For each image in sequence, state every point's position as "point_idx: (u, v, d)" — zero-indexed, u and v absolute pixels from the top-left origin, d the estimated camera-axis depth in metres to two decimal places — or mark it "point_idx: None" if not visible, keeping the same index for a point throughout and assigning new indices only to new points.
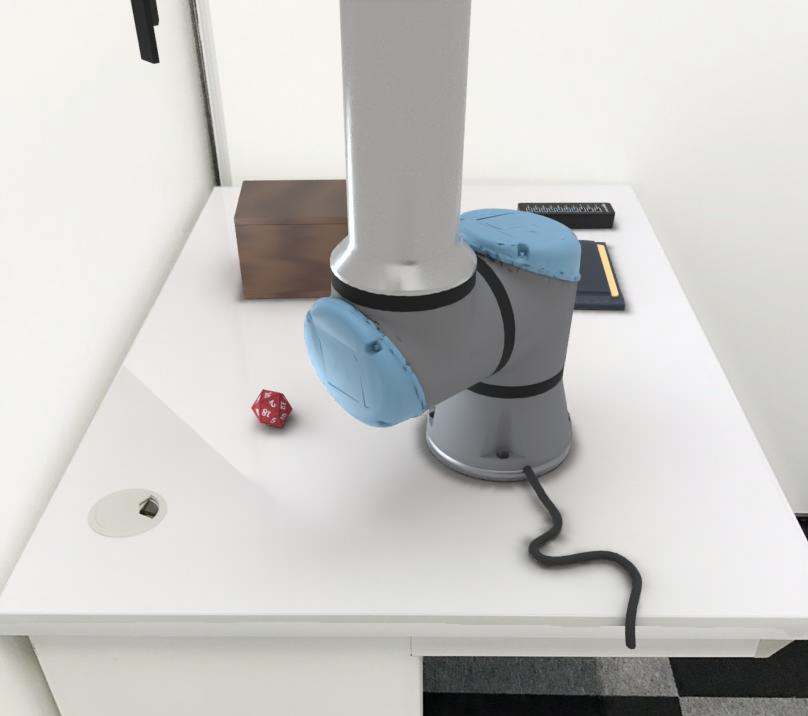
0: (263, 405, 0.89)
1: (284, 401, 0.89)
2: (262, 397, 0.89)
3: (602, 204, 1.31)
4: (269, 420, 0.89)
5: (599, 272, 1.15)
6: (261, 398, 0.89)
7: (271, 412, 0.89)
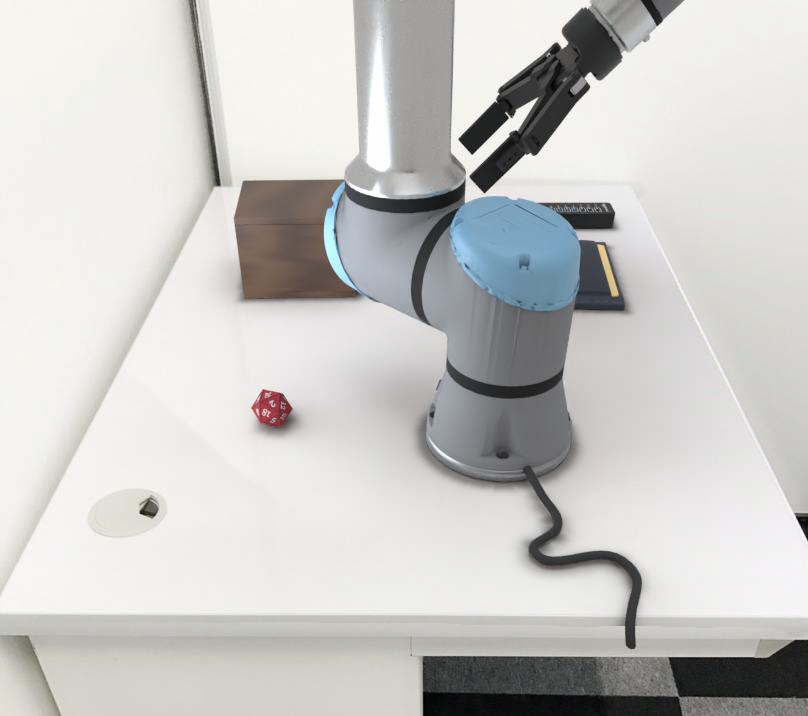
0: (263, 405, 0.89)
1: (284, 401, 0.89)
2: (262, 397, 0.89)
3: (602, 204, 1.31)
4: (269, 420, 0.89)
5: (599, 272, 1.15)
6: (261, 398, 0.89)
7: (271, 412, 0.89)
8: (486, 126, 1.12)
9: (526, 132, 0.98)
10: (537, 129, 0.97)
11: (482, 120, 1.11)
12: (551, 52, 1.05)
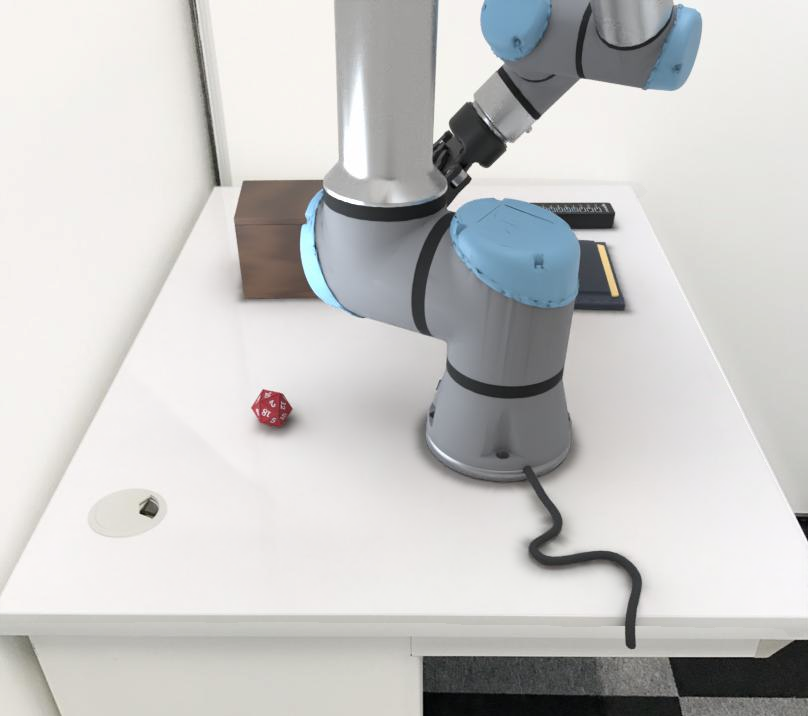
0: (263, 405, 0.89)
1: (284, 401, 0.89)
2: (262, 397, 0.89)
3: (602, 204, 1.31)
4: (269, 420, 0.89)
5: (599, 272, 1.15)
6: (261, 398, 0.89)
7: (271, 412, 0.89)
8: None
9: None
10: None
11: None
12: (444, 139, 1.12)
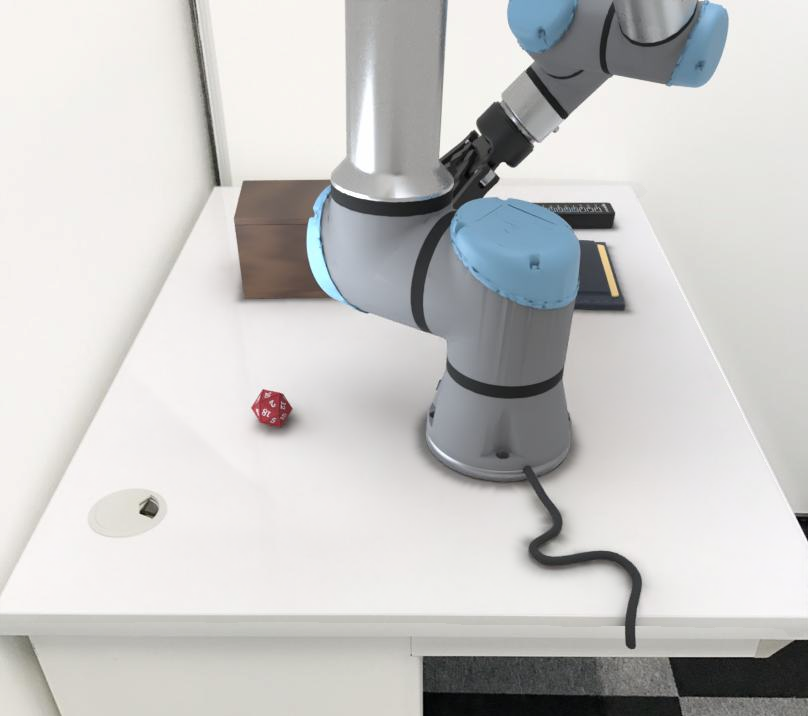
0: (263, 405, 0.89)
1: (284, 401, 0.89)
2: (262, 397, 0.89)
3: (602, 204, 1.31)
4: (269, 420, 0.89)
5: (599, 272, 1.15)
6: (261, 398, 0.89)
7: (271, 412, 0.89)
8: None
9: None
10: None
11: None
12: (470, 139, 1.12)
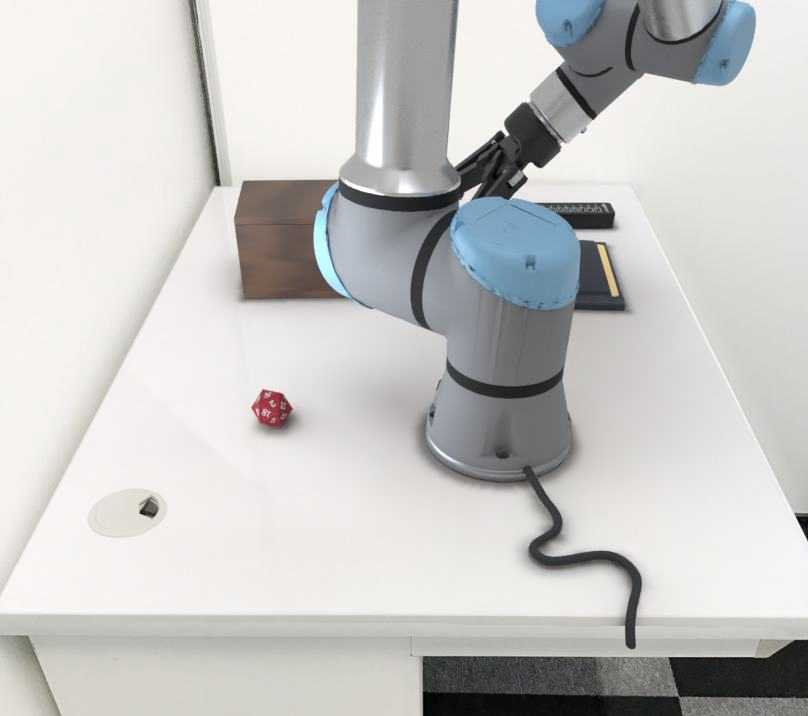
0: (263, 405, 0.89)
1: (284, 401, 0.89)
2: (263, 397, 0.89)
3: (602, 204, 1.31)
4: (269, 420, 0.89)
5: (599, 272, 1.15)
6: (261, 398, 0.89)
7: (271, 412, 0.89)
8: None
9: None
10: None
11: None
12: (496, 139, 1.12)
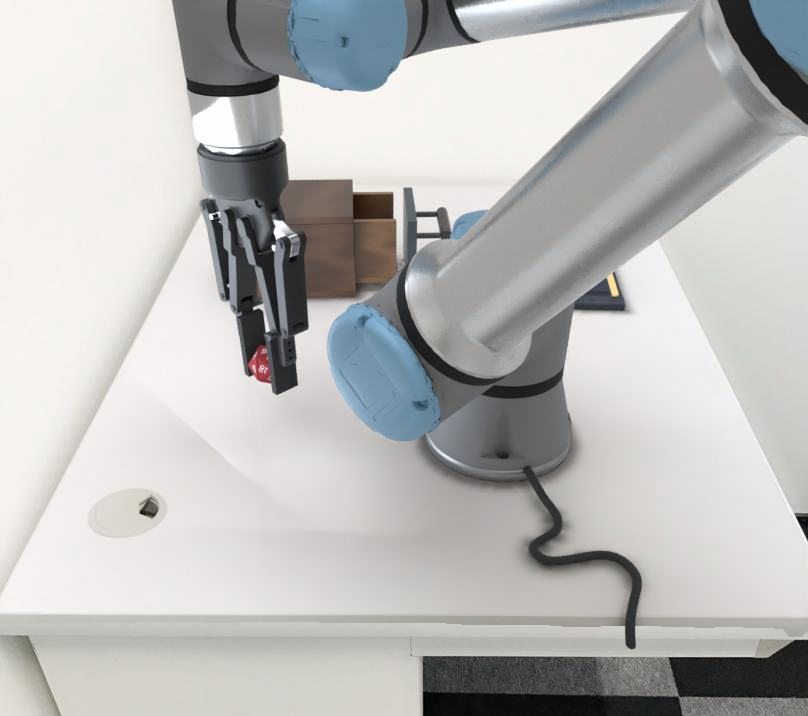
0: (260, 361, 0.85)
1: None
2: (259, 352, 0.85)
3: None
4: (267, 377, 0.85)
5: None
6: (258, 354, 0.85)
7: (268, 369, 0.85)
8: (255, 340, 0.86)
9: (283, 326, 0.79)
10: (291, 318, 0.78)
11: (247, 342, 0.86)
12: (209, 211, 0.79)
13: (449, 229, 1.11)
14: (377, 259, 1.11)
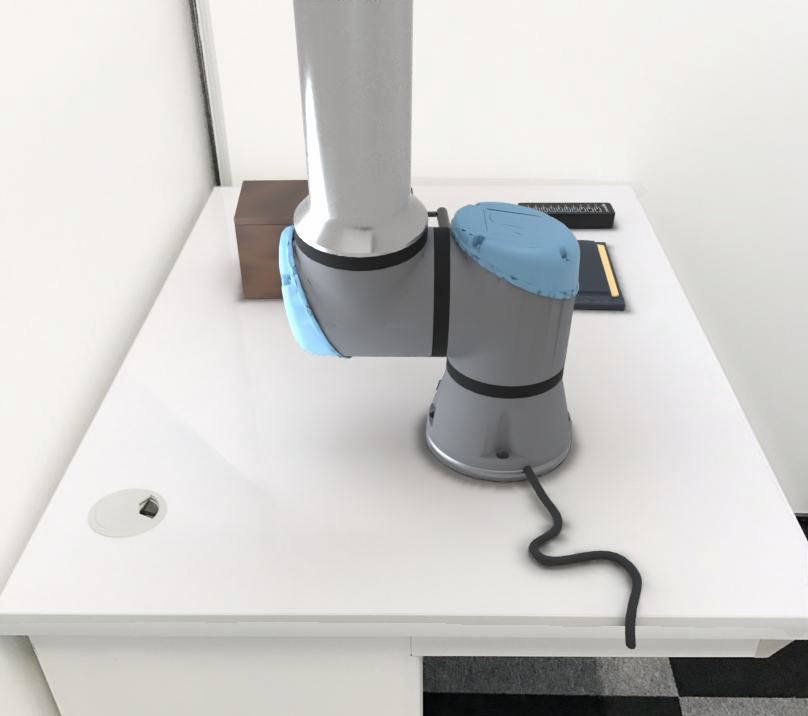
0: None
1: None
2: None
3: (602, 204, 1.31)
4: None
5: (599, 272, 1.15)
6: None
7: None
8: None
9: None
10: None
11: None
12: None
13: None
14: None
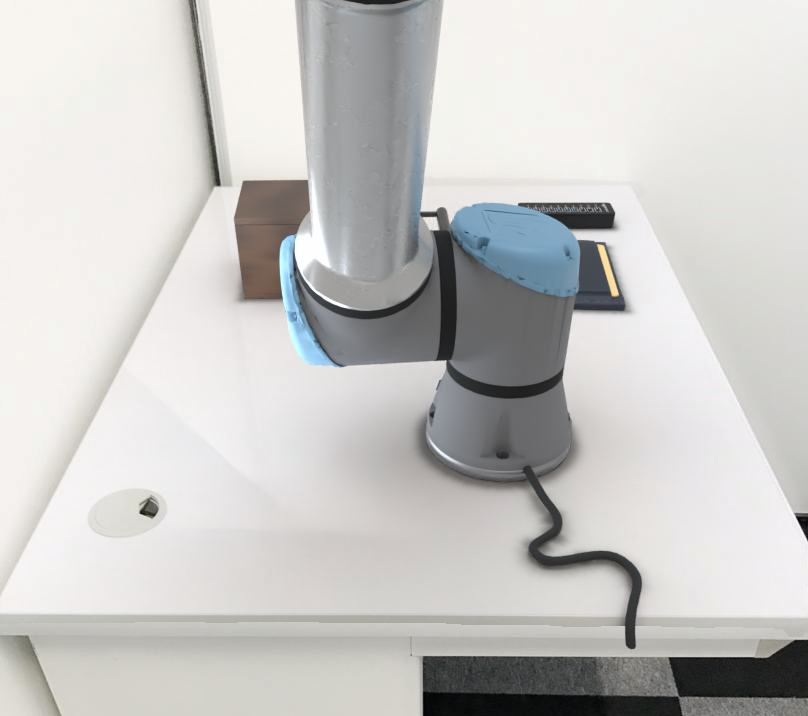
0: None
1: None
2: None
3: (602, 204, 1.31)
4: None
5: (599, 272, 1.15)
6: None
7: None
8: None
9: None
10: None
11: None
12: None
13: (449, 229, 1.11)
14: None
